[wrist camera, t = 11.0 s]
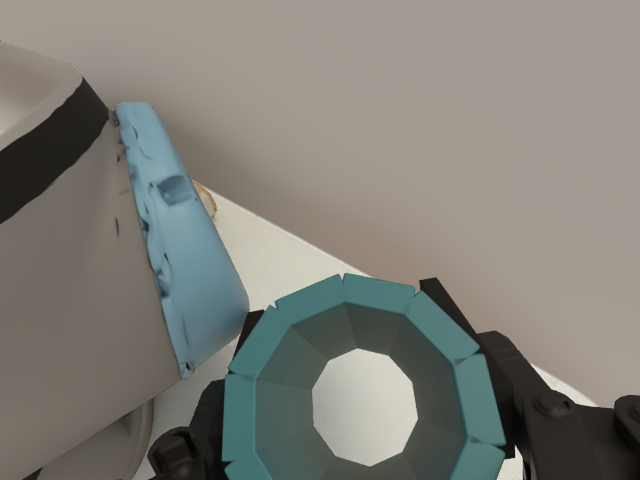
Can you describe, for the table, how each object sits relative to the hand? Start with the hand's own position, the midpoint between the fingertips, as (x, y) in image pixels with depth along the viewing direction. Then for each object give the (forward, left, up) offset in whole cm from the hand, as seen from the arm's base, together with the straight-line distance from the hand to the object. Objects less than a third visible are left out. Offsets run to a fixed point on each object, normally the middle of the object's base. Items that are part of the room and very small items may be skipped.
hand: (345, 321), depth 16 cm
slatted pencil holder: (+2, -3, -4) cm, 5 cm away
